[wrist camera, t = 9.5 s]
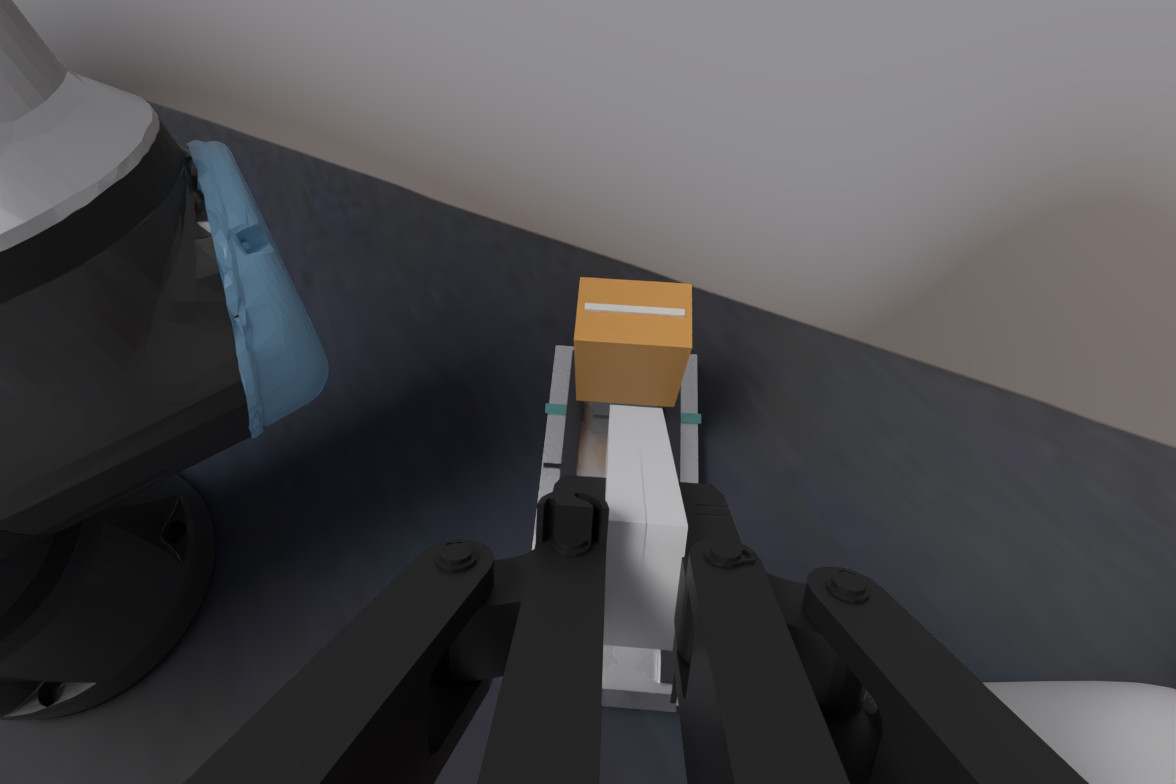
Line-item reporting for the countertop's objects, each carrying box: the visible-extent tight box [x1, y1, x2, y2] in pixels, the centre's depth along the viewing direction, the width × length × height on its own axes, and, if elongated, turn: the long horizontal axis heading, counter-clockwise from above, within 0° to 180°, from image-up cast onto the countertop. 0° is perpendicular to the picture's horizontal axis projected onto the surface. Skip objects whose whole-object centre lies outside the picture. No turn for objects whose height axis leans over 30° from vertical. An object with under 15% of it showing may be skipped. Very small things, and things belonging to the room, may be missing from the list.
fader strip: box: [532, 345, 701, 712], centre depth 37 cm, size 23×10×4 cm, turn 176°
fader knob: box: [574, 277, 692, 416], centre depth 35 cm, size 4×6×10 cm, turn 86°
